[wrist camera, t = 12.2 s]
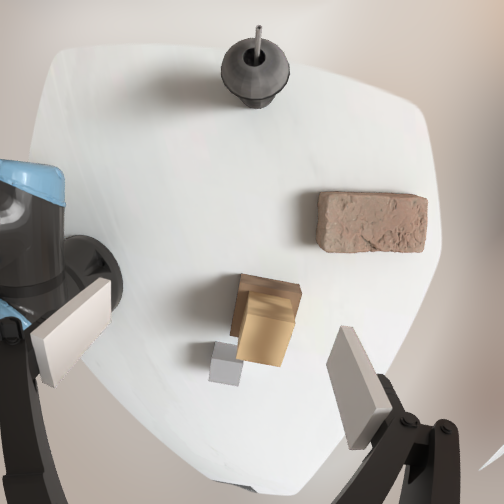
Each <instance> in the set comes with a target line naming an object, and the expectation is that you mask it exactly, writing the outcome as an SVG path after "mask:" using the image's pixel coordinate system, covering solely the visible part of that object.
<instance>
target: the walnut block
mask: <svg viewBox="0 0 504 504" xmlns="http://www.w3.org/2000/svg"><path fill="white" fill-rule="evenodd" d="M249 291H253V292H258V293H263V294H267V295H272V296H277V297H281V298H286V299H290V300H291V304H292V309H293V314H294V319H295V317H296V314H297V310H298V307H299V303H300V300H301V296H302V292H301V289H300V285H299V284H294V283H289V282H284V281H278V280H273V279H268V278H262V277H257V276H252V275H247V274H241V279H240V284H239V289H238V294H237V299H236V305H235V310H234V315H233V320H232V325H231V331H230V336H234V337H239V331H240V327H241V323H242V319H243V315H244V311H245V307H246V303H247V299H248V294H249Z"/></svg>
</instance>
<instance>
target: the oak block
mask: <svg viewBox="0 0 504 504" xmlns="http://www.w3.org/2000/svg"><path fill="white" fill-rule="evenodd" d="M294 326H295V319H294V314H293V309H292V304H291V300H290V299H286V298H281V297H277V296H272V295H267V294H263V293H258V292H253V291H249V294H248V299H247V303H246V307H245V311H244V315H243V319H242V323H241V327H240V331H239V338H238V346H237V354H236V359H240V360H245V361H250V362H255V363H260V364H266V365H272V366H277V367H280V366H281V363H282V361H283V358H284V355H285V352H286V349H287V347H288V344H289V341H290V338H291V335H292V332H293V329H294Z"/></svg>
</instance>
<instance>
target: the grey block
mask: <svg viewBox="0 0 504 504" xmlns="http://www.w3.org/2000/svg"><path fill="white" fill-rule="evenodd" d="M237 346H238V345H232V344H227V343H222V342H215V346H214V350H213V354H212V358H211V365H210V372H209V380H208V381H211V382H216V383H221V384H227V385H233V386H238V385H239V381H240V376H241V372H242V367H243V361H244V360H240V359H236V354H237Z"/></svg>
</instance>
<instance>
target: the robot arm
mask: <svg viewBox="0 0 504 504" xmlns="http://www.w3.org/2000/svg"><path fill="white" fill-rule="evenodd" d="M64 190H65V178H64V174H63V172H62V171H61V170H60V169H59V168H58V167H55V166H51V165H45V164H38V163H30V162H21V161H13V160H4V159H0V429H1V439H2V448H3V455H4V461H5V467H6V475H4V476H3V479H2V480H3V486H4V491H5V496H6V500H7V504H68V502H67V500H66V497H65V494H64V492H63V489H62V486H61V483H60V480H59V477H58V474H57V471H56V468H55V465H54V461H53V458H52V454H51V450H50V447H49V443H48V439H47V435H46V430H45V426H44V422H43V416H42V411H41V405H40V400H39V394H38V387H37V381H36V379H35V378H36V377H37V375H38V374H39V373H40V376H41V379H42V383H44V384H47V385H49V386H51V387H53V388H56V386H57V385H58V384H59V383H60V381H61V380H62V379H63V378H64V377H65V375H66V374H67V373H68V372H69V371H70V369H71V368H72V367H73V366H74V364H75V363H76V362H77V361H78V360H79V359H80V357H81V356H82V355H83V354H84V353H85V351H86V350H87V349H88V348H89V347H90V346H91V344H92V343H93V342H94V341H95V340H96V339H97V337H98V336H99V335H100V334H101V333H102V332H103V331H104V329H105V328H106V327H107V326H108V325H109V324H110V323H111V312H112V311H113V310H114V309H115V308H116V307H117V306H118V304H119V302H120V300H121V297H122V292H123V280H122V275H121V271H120V268H119V266H118V263H117V261H116V260H115V258H114V256H113V255H112V253H111V252H110V251H109V250H108V249H107V248H106V247H105V246H104V245H103V244H102V243H101V242H99V241H98V240H96V239H94V238H92V237H89V236H84V235H78V236H73V237H70V238H68V239H66V240H64V211H65V207H66V203H65V194H64ZM326 366H327V369H328V373H329V376H330V380H331V383H332V387H333V391H334V394H335V398H336V401H337V405H338V409H339V412H340V416H341V420H342V423H343V427H344V431H345V435H346V439H347V442H348V446H349V450H361V449H363V450H364V449H365V448H366V447H367V446H368V444H369V443H370V441H371V444H372V447H373V448H372V450H371V451H370V452H369V453H368V455H367V456H366V457H365V459H364V460H363V461H362V464H361V465H360V467H359V468H358V470H357V471H356V472H355V474H354V475H353V476H352V478H351V479H350V480H349V482H348V483H347V484H346V486H345V487H344V488H343V489H342V491H341V492H340V493H339V495H338V496H337V497H336V498H335V499H334V501H333V502H332V503H331V504H382V503H383V501H384V500H385V498H386V496H387V494H388V493H389V491H390V489H391V487H392V486H393V484H394V482H395V480H396V478H397V476H398V474H399V472H400V470H401V468H402V466H403V465H404V464H405V465H406V468H405V474H404V480H403V485H402V491H401V495H400V500H399V504H460V449H459V434H458V429H457V427H456V425H455V424H454V423H452V422H451V421H449V420H446V419H440V420H438V421H437V422H436V423H435V424H434V426H428V425H423V424H420V421H419V419H418V418H417V417H416V416H415V415H413V414H411V413H408V412H405V410H404V408H403V406H402V404H401V402H400V400H399V398H398V397H397V394H396V392H395V390H394V389H393V386H392V384H391V382H390V380H389V379H387V378H386V377H385V376H384V375H383V374H376V372H375V370H374V368H373V366H372V364H371V362H370V360H369V358H368V356H367V354H366V352H365V350H364V348H363V346H362V344H361V342H360V340H359V338H358V336H357V334H356V332H355V330H354V328H353V327H348V326H340V329H339V332H338V334H337V337H336V340H335V342H334V345H333V348H332V350H331V353H330V355H329V358H328V361H327V363H326Z"/></svg>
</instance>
